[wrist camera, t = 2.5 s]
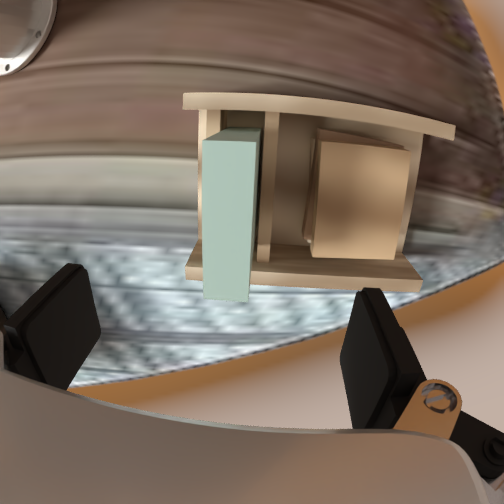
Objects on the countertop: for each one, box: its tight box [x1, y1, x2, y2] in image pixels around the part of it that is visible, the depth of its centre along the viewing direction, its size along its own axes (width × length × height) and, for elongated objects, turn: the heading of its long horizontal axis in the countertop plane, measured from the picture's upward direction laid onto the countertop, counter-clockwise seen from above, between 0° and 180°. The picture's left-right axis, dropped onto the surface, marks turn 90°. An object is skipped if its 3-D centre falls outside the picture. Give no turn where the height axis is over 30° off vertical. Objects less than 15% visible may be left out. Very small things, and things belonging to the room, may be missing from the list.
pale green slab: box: [202, 127, 261, 302], centre depth 22 cm, size 9×3×12 cm, turn 177°
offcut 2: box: [310, 139, 411, 260], centre depth 24 cm, size 9×7×2 cm
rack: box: [183, 93, 456, 292], centre depth 26 cm, size 14×20×7 cm
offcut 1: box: [301, 128, 404, 240], centre depth 25 cm, size 9×7×2 cm
